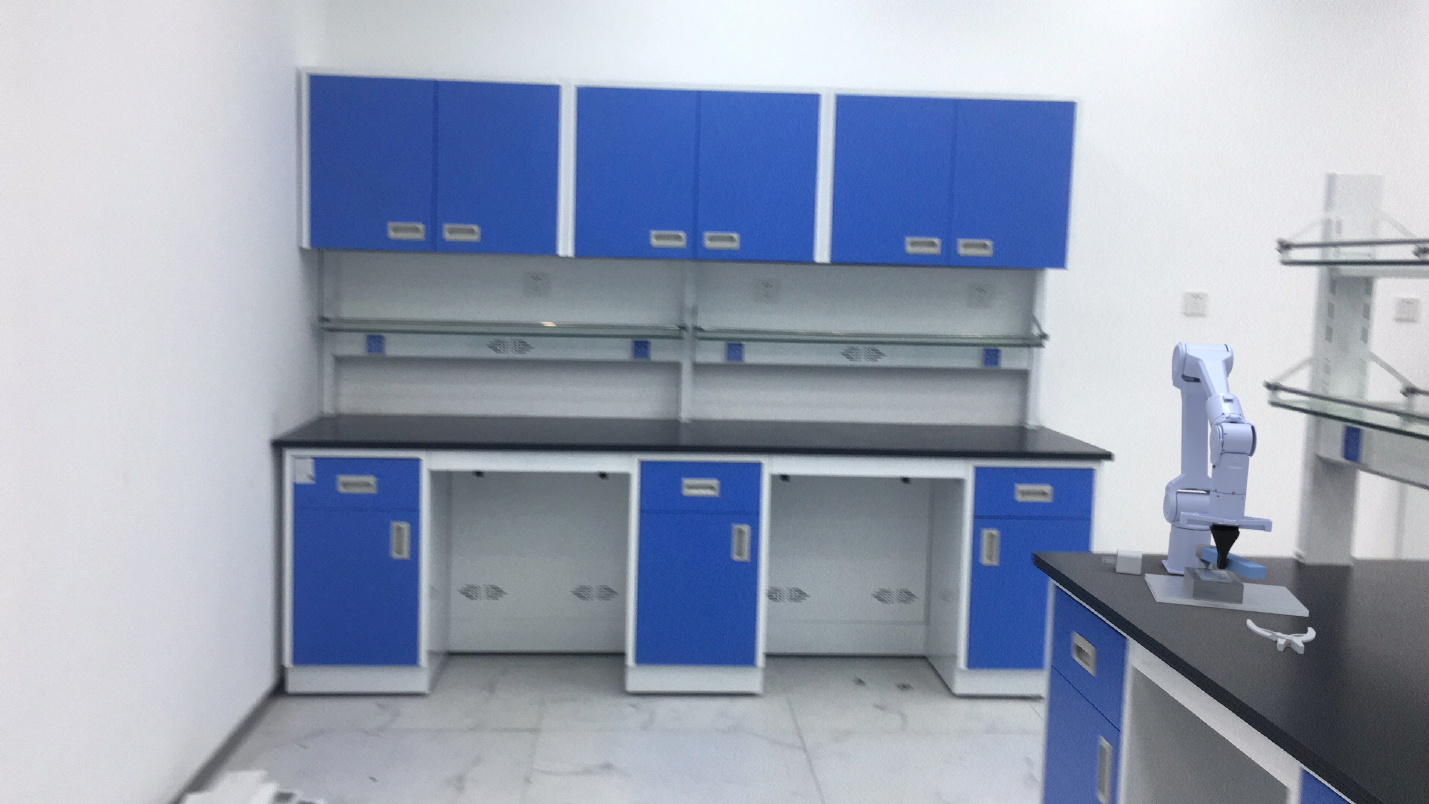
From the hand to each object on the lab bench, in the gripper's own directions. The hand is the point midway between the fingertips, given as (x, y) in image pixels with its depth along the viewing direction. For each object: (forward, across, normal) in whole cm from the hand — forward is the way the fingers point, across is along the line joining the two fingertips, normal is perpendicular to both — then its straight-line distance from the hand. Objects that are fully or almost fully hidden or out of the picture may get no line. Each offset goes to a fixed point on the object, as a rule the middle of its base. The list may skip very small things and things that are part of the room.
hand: (1221, 568), depth 195 cm
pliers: (+6, +6, -20) cm, 22 cm away
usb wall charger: (+6, -15, +15) cm, 22 cm away
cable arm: (0, +2, +3) cm, 3 cm away
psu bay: (+6, +1, +2) cm, 6 cm away
